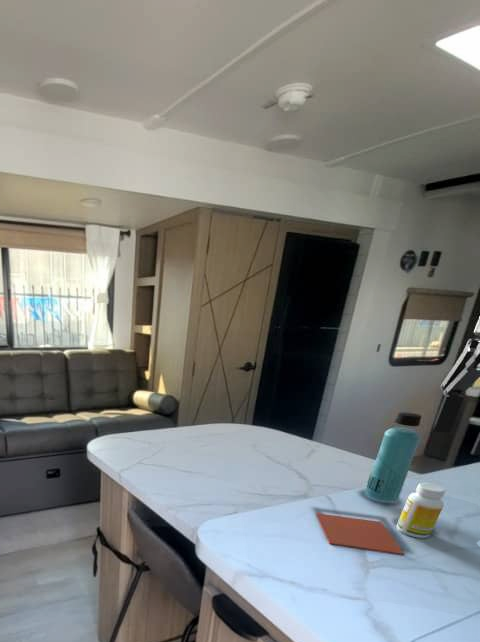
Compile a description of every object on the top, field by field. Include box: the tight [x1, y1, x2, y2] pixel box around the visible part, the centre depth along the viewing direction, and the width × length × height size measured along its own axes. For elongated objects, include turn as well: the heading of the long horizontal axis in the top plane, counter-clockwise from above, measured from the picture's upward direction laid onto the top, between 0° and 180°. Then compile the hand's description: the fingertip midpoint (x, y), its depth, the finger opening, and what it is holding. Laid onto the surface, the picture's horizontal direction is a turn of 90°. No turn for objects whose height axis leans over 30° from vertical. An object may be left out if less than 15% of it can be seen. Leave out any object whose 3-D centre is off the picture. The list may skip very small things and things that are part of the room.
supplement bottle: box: [396, 482, 446, 539], centre depth 77 cm, size 5×5×10 cm
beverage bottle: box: [365, 411, 422, 503], centre depth 86 cm, size 6×7×20 cm
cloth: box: [315, 512, 405, 556], centre depth 78 cm, size 12×12×1 cm
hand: (459, 442), depth 71 cm, fingers open, 13 cm apart
